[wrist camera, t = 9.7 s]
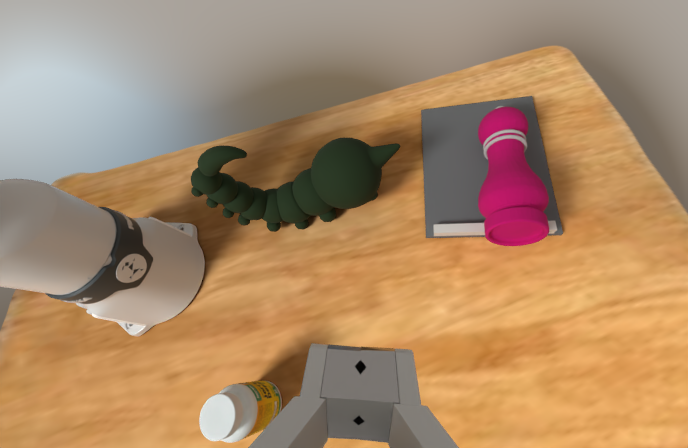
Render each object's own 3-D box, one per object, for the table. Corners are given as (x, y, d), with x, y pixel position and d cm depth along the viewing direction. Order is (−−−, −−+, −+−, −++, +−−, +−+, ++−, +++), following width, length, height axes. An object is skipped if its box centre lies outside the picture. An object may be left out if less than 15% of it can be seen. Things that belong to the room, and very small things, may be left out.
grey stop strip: (551, 235, 37) (557, 229, 36) (433, 237, 41) (434, 232, 39) (549, 226, 38) (555, 220, 36) (433, 229, 41) (433, 224, 40)
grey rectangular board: (561, 235, 37) (563, 233, 37) (426, 238, 41) (426, 236, 41) (530, 99, 46) (531, 96, 45) (421, 112, 50) (421, 110, 49)
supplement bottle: (237, 417, 38) (182, 433, 30) (255, 373, 40) (208, 376, 31) (272, 437, 36) (225, 461, 28) (290, 390, 38) (250, 399, 29)
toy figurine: (265, 254, 49) (418, 205, 43) (165, 204, 32) (393, 113, 26) (261, 204, 53) (401, 153, 47) (171, 137, 36) (369, 46, 31)
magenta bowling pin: (467, 239, 36) (461, 119, 45) (520, 252, 37) (504, 132, 46) (510, 212, 30) (493, 79, 39) (573, 228, 31) (542, 95, 40)
